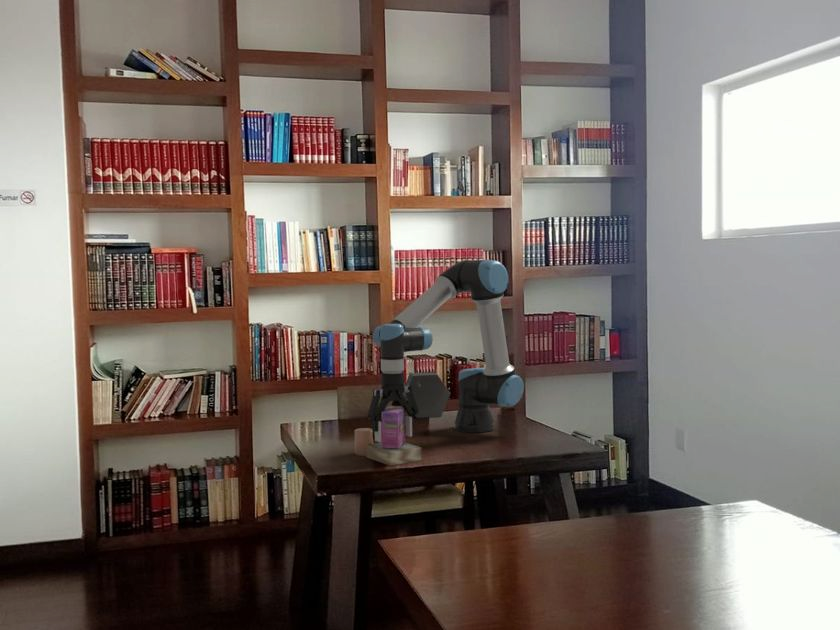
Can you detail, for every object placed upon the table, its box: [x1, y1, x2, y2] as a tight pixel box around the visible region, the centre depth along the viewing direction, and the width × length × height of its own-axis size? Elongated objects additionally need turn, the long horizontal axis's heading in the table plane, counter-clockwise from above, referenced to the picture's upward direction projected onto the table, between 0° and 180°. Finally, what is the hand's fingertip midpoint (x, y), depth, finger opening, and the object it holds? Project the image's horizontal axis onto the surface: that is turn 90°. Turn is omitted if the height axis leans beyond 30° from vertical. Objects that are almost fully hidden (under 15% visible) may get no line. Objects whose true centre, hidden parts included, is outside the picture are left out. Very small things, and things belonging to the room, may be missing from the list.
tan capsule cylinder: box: [354, 427, 374, 457], centre depth 275 cm, size 6×6×8 cm
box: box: [380, 405, 406, 449], centre depth 267 cm, size 10×6×12 cm, turn 169°
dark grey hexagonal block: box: [403, 371, 451, 419], centre depth 340 cm, size 17×8×21 cm
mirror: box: [366, 441, 422, 466], centre depth 268 cm, size 12×14×4 cm
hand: (393, 438), depth 268 cm, fingers open, 11 cm apart
